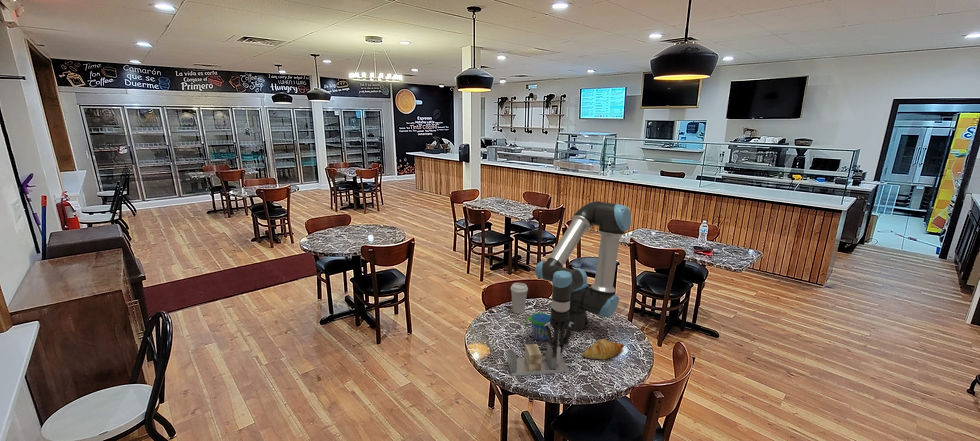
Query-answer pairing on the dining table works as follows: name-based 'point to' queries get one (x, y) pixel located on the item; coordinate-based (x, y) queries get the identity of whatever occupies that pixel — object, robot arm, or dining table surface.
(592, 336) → the dining table surface
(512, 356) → the fixed jaw
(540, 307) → the dining table surface
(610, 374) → the dining table surface
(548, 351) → the sliding jaw
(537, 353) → the block
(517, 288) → the coffee cup
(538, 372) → the vise bed
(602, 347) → the croissant
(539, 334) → the snack cup
